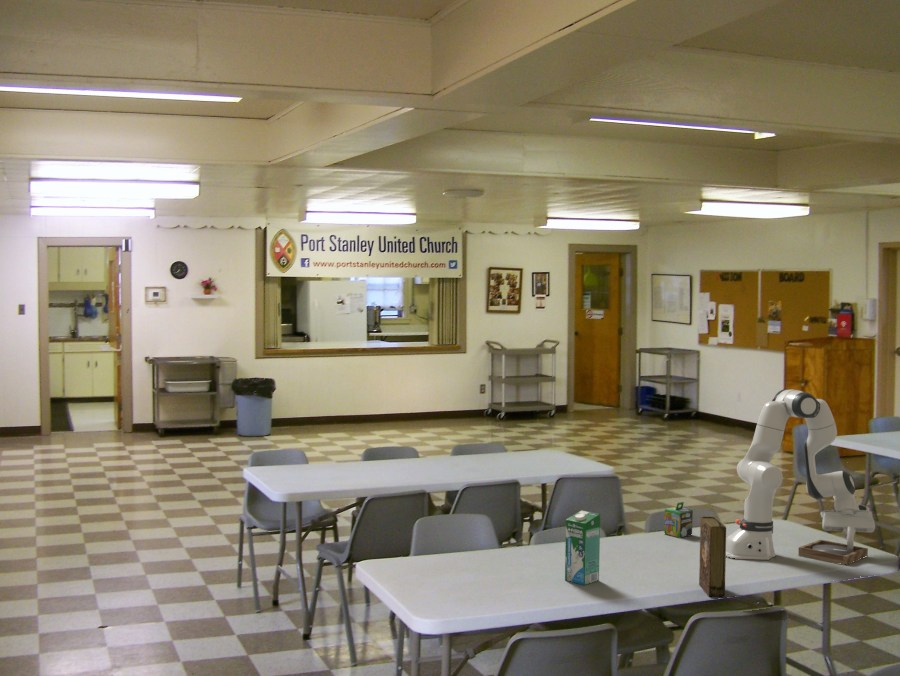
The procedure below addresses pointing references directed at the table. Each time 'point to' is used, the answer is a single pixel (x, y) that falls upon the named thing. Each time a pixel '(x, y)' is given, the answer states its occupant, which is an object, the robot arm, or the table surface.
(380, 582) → the table surface
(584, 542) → the milk carton
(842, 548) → the dial
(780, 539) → the table surface
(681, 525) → the chalk box
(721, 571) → the book
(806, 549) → the dial housing
